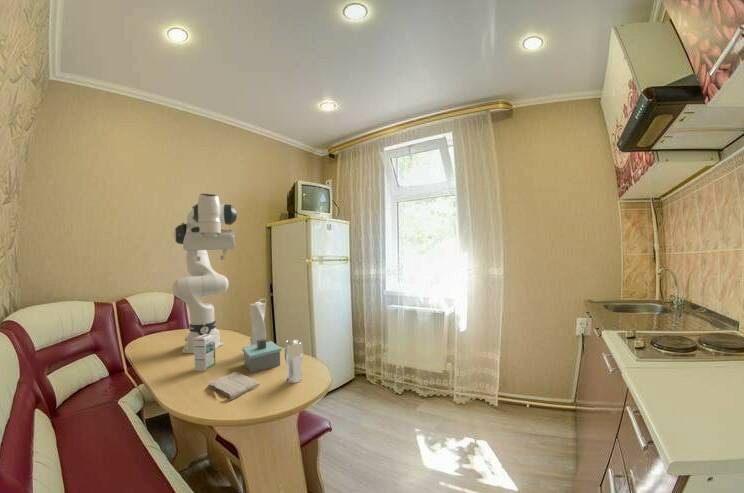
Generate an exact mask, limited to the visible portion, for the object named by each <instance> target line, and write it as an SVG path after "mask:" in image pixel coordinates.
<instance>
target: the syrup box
mask: <svg viewBox="0 0 744 493" xmlns="http://www.w3.org/2000/svg"><path fill="white" fill-rule="evenodd" d="M193 354H194V371H196V372H208V370H209V369H211V368H212V367H214V366H216V349H215V339H214V335H213V334H204V335H202V336H199V337H196V338H194V353H193Z"/></svg>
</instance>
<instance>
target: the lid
mask: <svg viewBox="0 0 744 493" xmlns="http://www.w3.org/2000/svg"><path fill="white" fill-rule="evenodd" d="M242 352H243V354H244V353H245V354H246V355H247V356H248V357H249V358H250V359H252V358H256V357H260V356H264V355H268V354H272V353H276V352H280V353H281V352H282V348H281V347H280V345H278V344H276V343H275V342H273V341H272V340H270V341H267V339H266V340H265V339H260V340H257V344H256V345H252V346H251V345H248V346H244V347H242Z"/></svg>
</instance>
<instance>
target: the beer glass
mask: <svg viewBox="0 0 744 493" xmlns="http://www.w3.org/2000/svg"><path fill="white" fill-rule="evenodd" d="M303 346H304V345H303V340H302V339H290V340H287V341H285V343H284V358H285V365H286V370H287V373H286V374H287V375H286V376H287V377H286V383H288V384H298V383H300V382H302V381H303V374H302V366H303V357H304V347H303Z"/></svg>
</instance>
